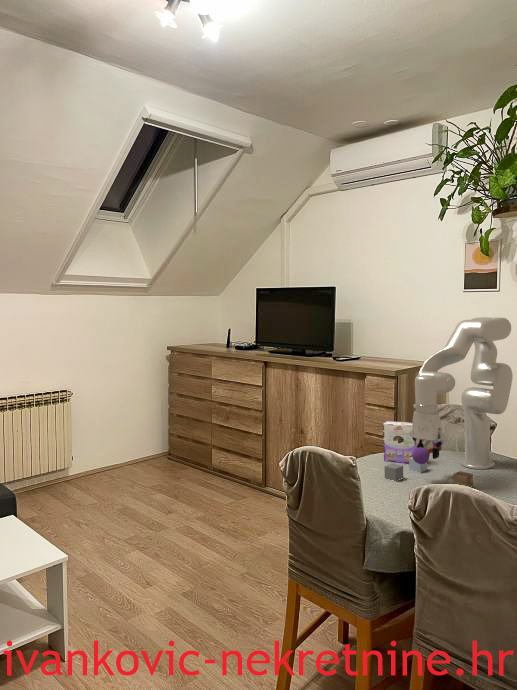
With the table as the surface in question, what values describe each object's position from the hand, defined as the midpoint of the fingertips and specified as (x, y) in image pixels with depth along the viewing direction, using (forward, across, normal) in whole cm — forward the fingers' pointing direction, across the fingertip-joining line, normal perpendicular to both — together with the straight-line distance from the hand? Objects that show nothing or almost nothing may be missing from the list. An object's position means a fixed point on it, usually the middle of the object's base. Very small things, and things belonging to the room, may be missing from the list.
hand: (428, 456), depth 206 cm
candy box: (+11, -23, +16) cm, 30 cm away
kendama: (+1, 0, 0) cm, 1 cm away
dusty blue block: (+10, -11, +10) cm, 18 cm away
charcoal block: (+10, -12, -5) cm, 16 cm away
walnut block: (+10, +12, +3) cm, 16 cm away
